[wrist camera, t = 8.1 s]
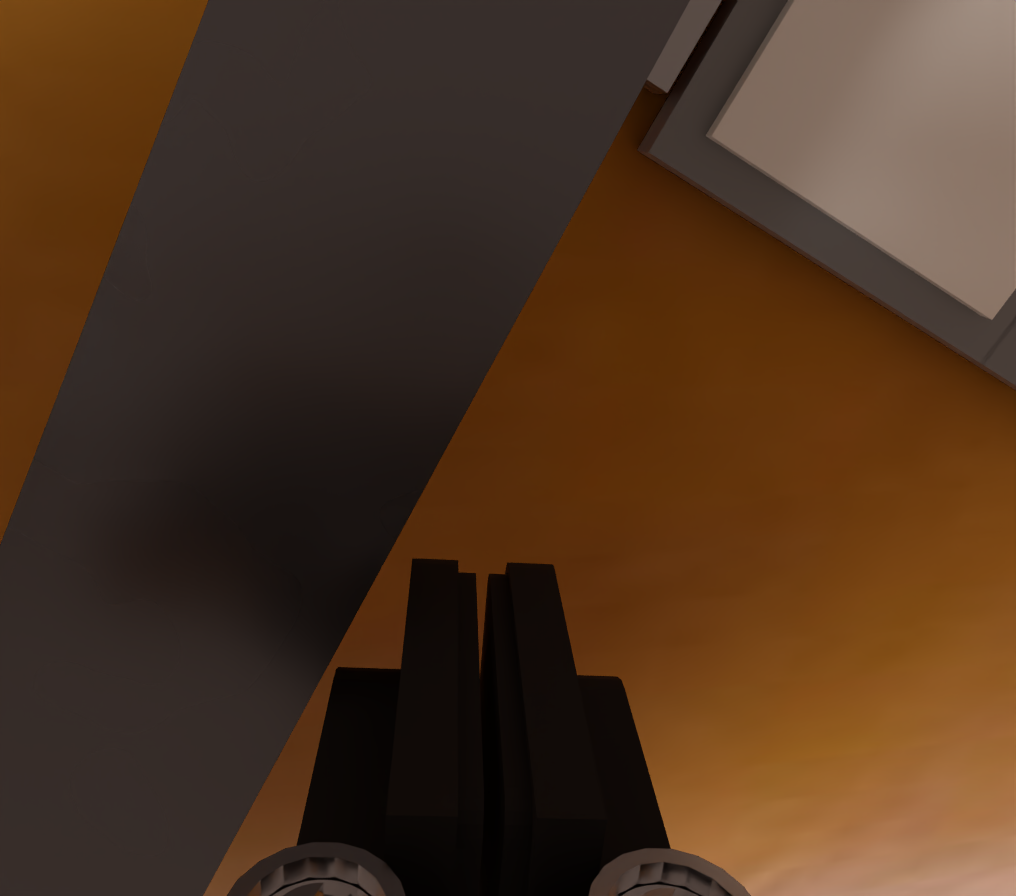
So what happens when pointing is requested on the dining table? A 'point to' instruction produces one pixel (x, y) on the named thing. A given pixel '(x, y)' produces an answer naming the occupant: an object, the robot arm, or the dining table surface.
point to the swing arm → (274, 397)
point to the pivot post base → (680, 44)
